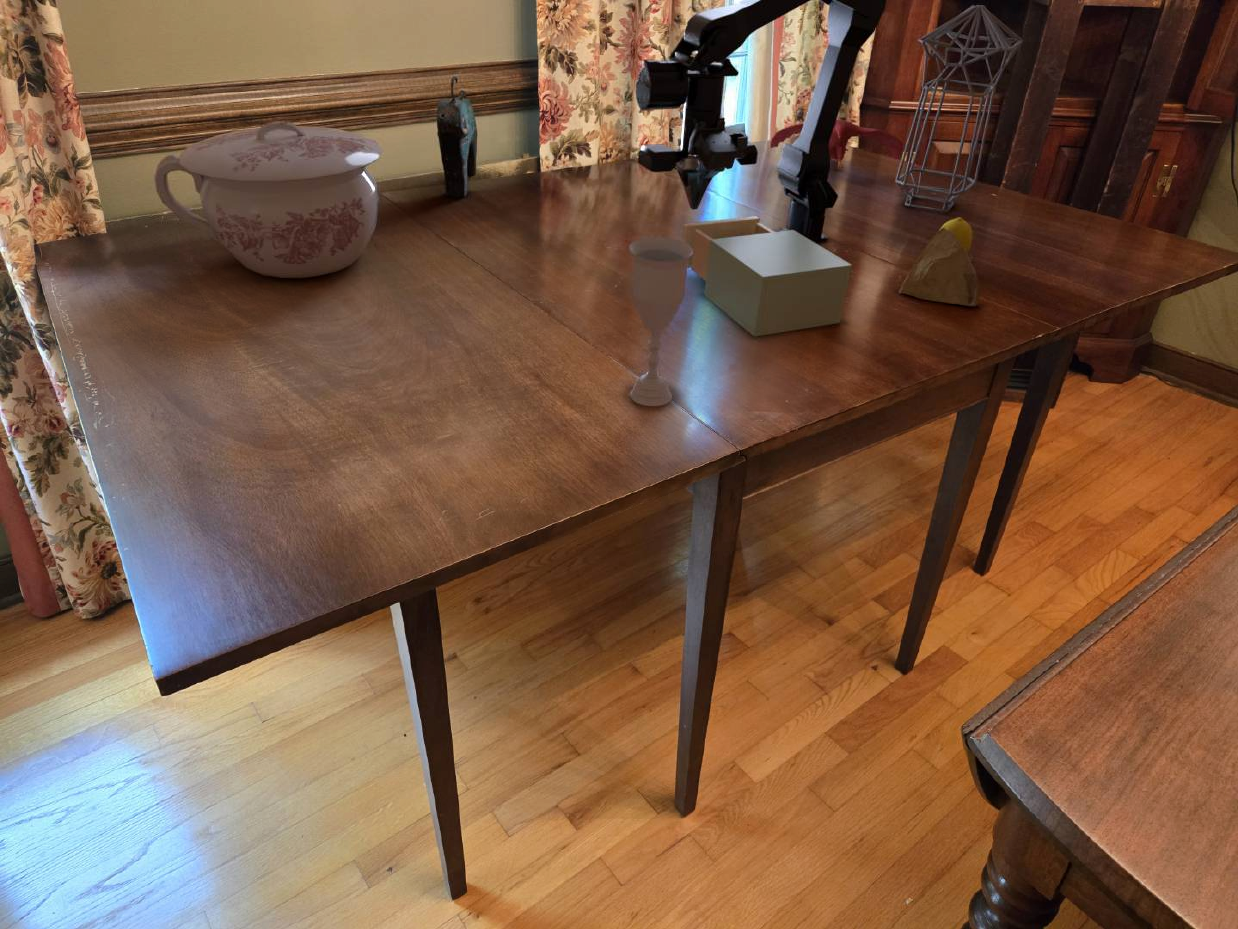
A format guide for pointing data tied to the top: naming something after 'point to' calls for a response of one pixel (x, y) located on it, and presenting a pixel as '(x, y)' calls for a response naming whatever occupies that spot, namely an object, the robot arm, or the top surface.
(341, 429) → the top surface
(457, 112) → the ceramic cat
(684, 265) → the chalice
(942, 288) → the rock
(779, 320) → the cabinet
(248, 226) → the chamber pot
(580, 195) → the top surface
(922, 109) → the geometric lantern
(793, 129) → the decorative bird sculpture
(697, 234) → the drawer
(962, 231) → the lemon
